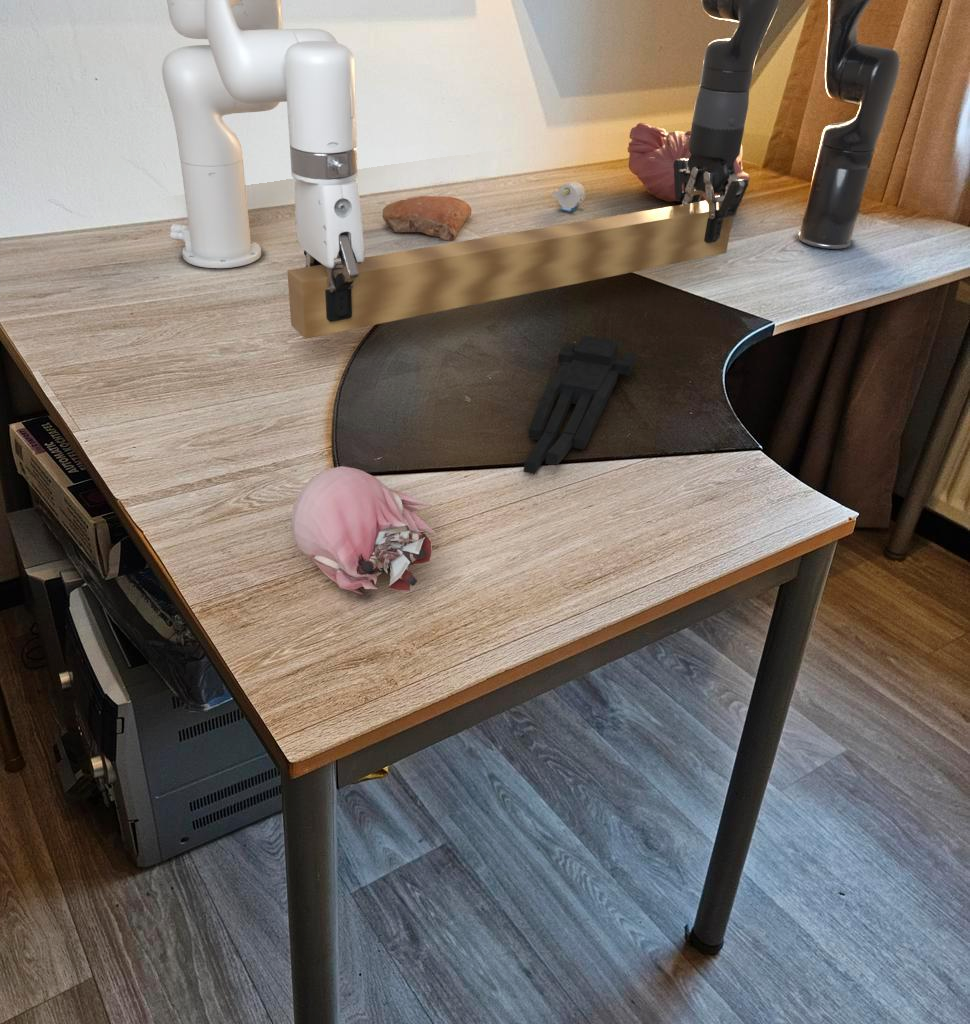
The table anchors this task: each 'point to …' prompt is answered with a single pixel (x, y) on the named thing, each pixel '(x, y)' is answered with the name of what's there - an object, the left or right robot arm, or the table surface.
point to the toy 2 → (575, 398)
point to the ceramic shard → (428, 215)
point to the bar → (504, 266)
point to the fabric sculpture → (663, 159)
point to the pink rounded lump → (359, 529)
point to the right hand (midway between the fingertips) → (699, 236)
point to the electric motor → (570, 196)
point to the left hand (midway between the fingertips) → (330, 309)
